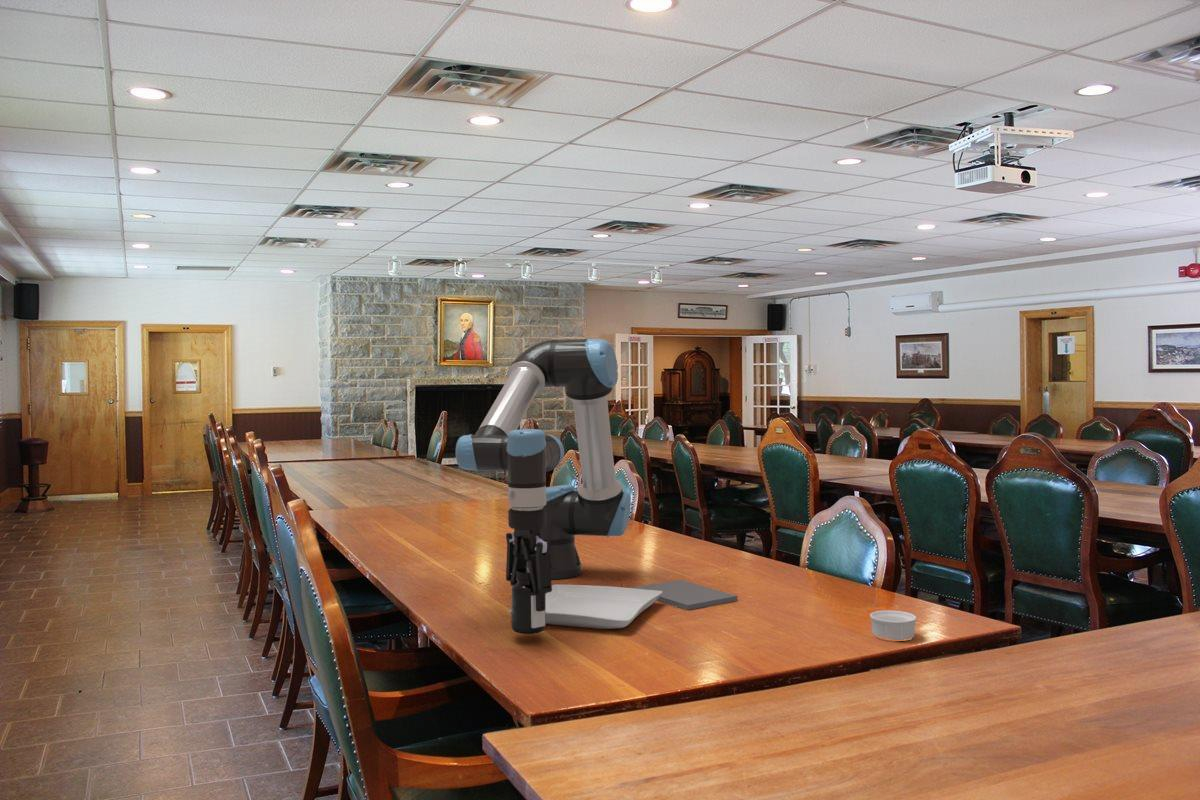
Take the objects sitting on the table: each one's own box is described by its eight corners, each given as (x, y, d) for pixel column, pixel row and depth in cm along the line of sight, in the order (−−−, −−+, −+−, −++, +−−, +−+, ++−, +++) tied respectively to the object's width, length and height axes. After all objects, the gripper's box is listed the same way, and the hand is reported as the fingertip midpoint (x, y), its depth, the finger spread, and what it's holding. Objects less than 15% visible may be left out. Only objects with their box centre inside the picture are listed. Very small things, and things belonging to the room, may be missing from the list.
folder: (680, 584, 230) (680, 579, 230) (737, 600, 212) (737, 595, 212) (632, 592, 221) (632, 587, 221) (687, 610, 204) (687, 605, 204)
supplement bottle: (540, 635, 178) (540, 574, 177) (507, 634, 179) (506, 573, 179) (549, 625, 185) (549, 566, 184) (517, 624, 186) (516, 565, 185)
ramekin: (893, 646, 177) (893, 623, 177) (860, 634, 184) (860, 613, 184) (926, 639, 181) (926, 617, 181) (892, 628, 189) (892, 607, 188)
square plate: (664, 605, 210) (664, 588, 210) (629, 638, 184) (628, 619, 184) (555, 597, 219) (554, 581, 219) (506, 627, 193) (506, 608, 193)
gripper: (487, 503, 187) (489, 614, 188) (535, 515, 171) (537, 637, 172) (519, 499, 191) (521, 608, 192) (569, 511, 175) (571, 630, 176)
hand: (528, 622), depth 182 cm, fingers closed on supplement bottle, 7 cm apart
